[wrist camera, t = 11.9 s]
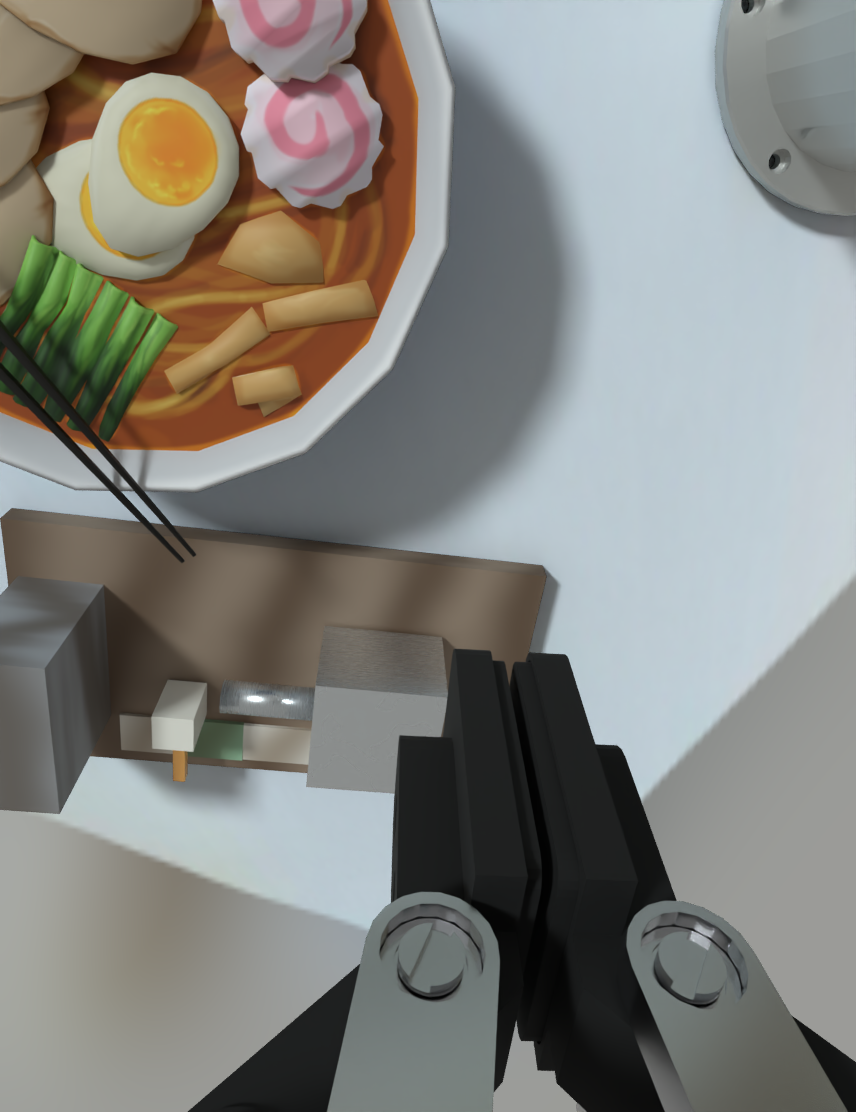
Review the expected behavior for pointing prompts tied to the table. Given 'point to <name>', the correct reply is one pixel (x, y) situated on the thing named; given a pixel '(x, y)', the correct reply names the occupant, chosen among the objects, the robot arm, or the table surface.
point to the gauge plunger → (357, 704)
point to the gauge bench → (206, 635)
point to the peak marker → (179, 721)
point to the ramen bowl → (209, 229)
